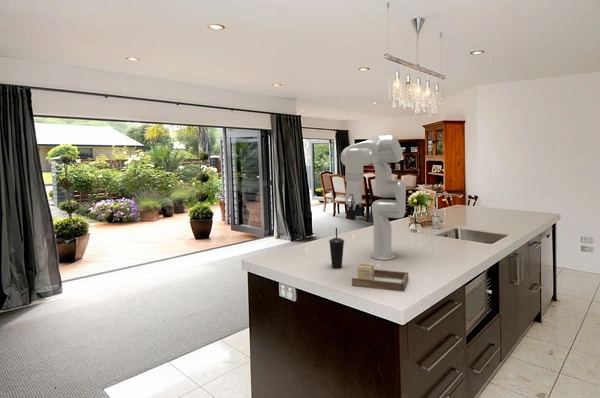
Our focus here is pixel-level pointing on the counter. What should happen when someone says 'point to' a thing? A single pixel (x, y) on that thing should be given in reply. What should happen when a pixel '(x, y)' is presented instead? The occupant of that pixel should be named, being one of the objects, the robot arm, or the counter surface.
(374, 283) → the bay
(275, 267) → the counter surface
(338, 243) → the drinking cup
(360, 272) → the light wooden block
